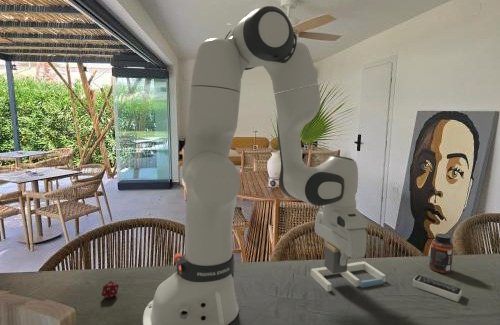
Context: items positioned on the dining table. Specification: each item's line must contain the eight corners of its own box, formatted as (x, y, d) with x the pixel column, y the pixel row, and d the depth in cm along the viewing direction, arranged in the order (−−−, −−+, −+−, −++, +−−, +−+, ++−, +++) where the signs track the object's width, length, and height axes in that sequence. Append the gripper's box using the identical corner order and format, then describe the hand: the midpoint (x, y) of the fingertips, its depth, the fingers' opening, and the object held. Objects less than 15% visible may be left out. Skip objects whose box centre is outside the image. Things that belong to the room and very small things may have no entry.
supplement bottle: (454, 275, 92) (458, 239, 91) (433, 273, 93) (436, 238, 92) (446, 266, 98) (449, 232, 97) (426, 264, 99) (429, 231, 98)
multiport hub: (457, 303, 78) (458, 295, 78) (412, 287, 86) (412, 279, 85) (461, 296, 81) (462, 288, 81) (416, 281, 89) (417, 274, 88)
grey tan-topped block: (332, 273, 83) (334, 249, 83) (324, 266, 88) (325, 243, 87) (346, 271, 85) (348, 247, 84) (337, 264, 89) (339, 241, 88)
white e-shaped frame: (329, 293, 81) (329, 286, 81) (310, 275, 91) (310, 268, 91) (387, 283, 87) (387, 276, 87) (364, 267, 97) (364, 261, 96)
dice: (100, 302, 76) (99, 288, 76) (105, 293, 80) (104, 279, 80) (116, 301, 77) (115, 286, 76) (120, 291, 81) (119, 277, 81)
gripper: (310, 204, 93) (308, 247, 95) (351, 225, 74) (347, 278, 75) (328, 203, 95) (326, 245, 97) (372, 223, 76) (368, 275, 77)
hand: (335, 260), depth 86 cm, fingers closed on grey tan-topped block, 4 cm apart
